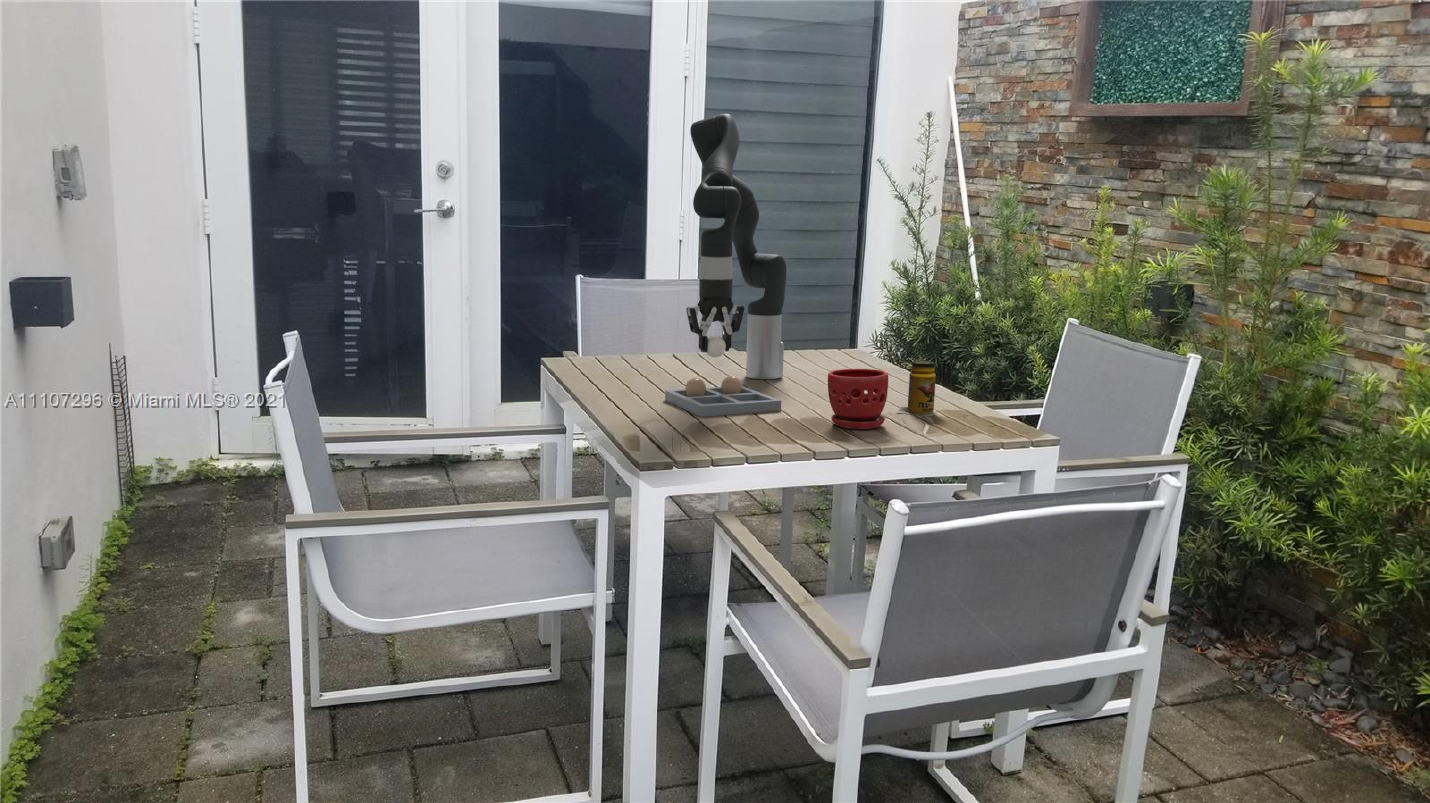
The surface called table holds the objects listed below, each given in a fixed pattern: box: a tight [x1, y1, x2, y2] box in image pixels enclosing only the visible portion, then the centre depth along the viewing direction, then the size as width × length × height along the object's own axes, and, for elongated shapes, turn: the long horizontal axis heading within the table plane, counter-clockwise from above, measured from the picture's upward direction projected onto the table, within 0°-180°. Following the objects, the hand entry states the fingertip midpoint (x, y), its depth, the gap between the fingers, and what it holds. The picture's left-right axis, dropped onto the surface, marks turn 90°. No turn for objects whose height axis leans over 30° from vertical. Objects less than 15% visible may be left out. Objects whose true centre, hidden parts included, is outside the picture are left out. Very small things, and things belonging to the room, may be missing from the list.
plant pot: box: [827, 368, 889, 430], centre depth 244 cm, size 13×13×12 cm
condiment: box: [896, 359, 937, 417], centre depth 260 cm, size 7×8×12 cm
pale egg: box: [705, 335, 726, 358], centre depth 255 cm, size 5×5×5 cm
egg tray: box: [664, 385, 782, 418], centre depth 263 cm, size 20×20×2 cm
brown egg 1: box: [684, 377, 707, 397], centre depth 265 cm, size 5×5×5 cm
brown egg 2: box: [720, 375, 743, 395], centre depth 269 cm, size 5×5×5 cm
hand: (714, 351), depth 255 cm, fingers closed on pale egg, 5 cm apart
